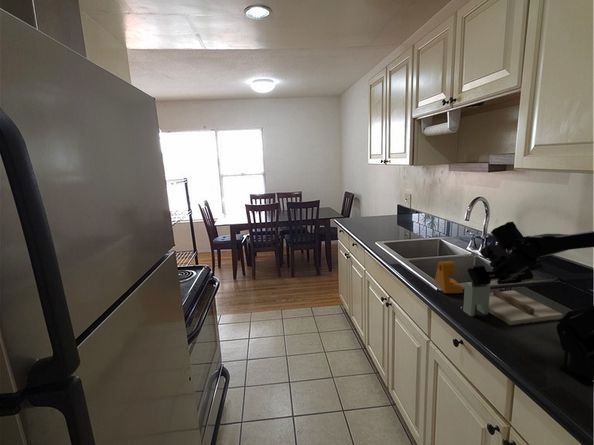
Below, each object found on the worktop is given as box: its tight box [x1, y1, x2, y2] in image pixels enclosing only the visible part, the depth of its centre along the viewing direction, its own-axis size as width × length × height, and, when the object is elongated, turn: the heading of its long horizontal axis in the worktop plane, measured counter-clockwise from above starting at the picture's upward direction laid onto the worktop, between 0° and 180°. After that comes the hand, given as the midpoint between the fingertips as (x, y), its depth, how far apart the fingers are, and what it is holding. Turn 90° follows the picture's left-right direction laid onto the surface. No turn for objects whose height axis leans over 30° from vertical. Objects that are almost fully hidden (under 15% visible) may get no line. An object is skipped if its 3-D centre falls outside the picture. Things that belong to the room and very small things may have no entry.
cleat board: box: [488, 289, 563, 326], centre depth 114 cm, size 20×19×4 cm
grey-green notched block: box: [462, 281, 491, 317], centre depth 111 cm, size 4×6×10 cm, turn 99°
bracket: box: [434, 260, 464, 294], centre depth 131 cm, size 11×7×12 cm, turn 176°
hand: (485, 284), depth 106 cm, fingers open, 9 cm apart
